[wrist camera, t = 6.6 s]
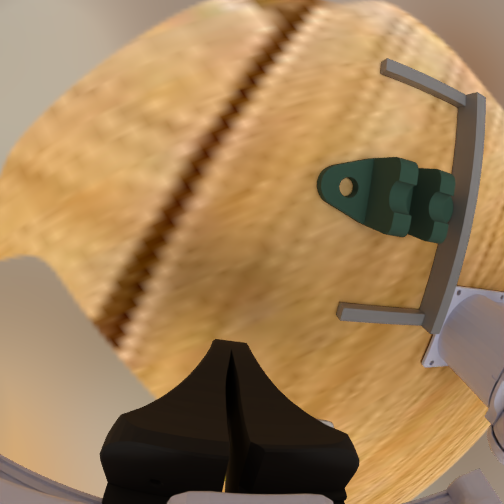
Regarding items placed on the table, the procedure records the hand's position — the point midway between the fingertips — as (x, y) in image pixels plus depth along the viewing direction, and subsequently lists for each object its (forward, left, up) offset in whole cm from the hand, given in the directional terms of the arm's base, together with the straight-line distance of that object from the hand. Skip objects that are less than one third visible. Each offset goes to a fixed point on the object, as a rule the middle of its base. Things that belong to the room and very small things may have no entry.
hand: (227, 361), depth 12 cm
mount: (-10, -8, -10) cm, 16 cm away
